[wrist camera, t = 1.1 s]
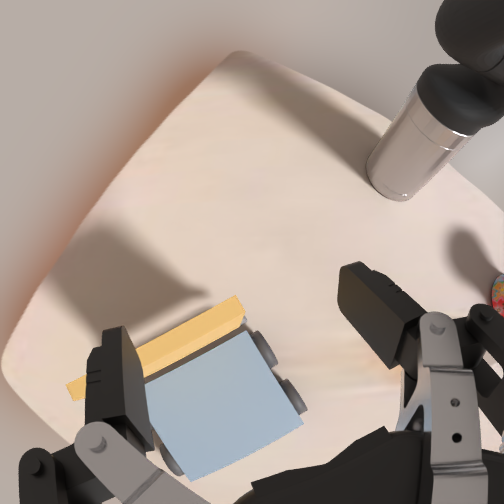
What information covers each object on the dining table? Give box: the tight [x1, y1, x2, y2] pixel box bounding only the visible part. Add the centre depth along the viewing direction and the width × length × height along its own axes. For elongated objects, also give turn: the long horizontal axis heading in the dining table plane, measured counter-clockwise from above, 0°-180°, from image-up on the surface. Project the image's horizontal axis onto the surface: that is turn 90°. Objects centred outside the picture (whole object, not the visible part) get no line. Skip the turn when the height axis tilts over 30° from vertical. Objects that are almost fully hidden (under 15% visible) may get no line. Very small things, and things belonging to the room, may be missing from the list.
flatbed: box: [145, 330, 307, 482], centre depth 32 cm, size 12×16×4 cm
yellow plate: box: [66, 295, 247, 401], centre depth 24 cm, size 2×15×14 cm, turn 120°
